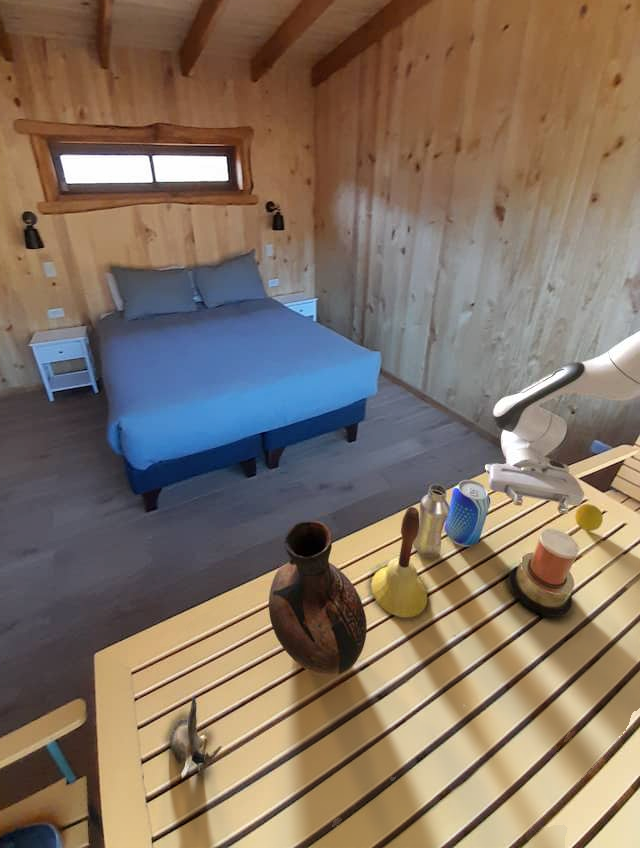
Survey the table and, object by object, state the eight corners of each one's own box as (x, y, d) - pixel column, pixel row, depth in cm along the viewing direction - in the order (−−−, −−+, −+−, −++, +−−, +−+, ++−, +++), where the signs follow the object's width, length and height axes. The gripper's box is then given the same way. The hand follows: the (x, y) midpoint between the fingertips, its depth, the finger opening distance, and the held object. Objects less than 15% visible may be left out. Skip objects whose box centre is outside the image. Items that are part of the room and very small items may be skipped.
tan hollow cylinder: (560, 575, 93) (570, 554, 90) (578, 626, 83) (589, 604, 80) (503, 563, 97) (510, 541, 93) (514, 610, 86) (522, 588, 83)
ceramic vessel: (383, 668, 77) (401, 564, 64) (305, 722, 70) (307, 618, 56) (322, 580, 94) (326, 483, 80) (254, 616, 86) (246, 516, 73)
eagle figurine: (232, 741, 67) (202, 690, 72) (213, 752, 61) (182, 696, 66) (200, 782, 65) (172, 727, 71) (177, 797, 60) (148, 737, 65)
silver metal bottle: (419, 534, 105) (430, 475, 96) (444, 549, 100) (458, 489, 91) (406, 549, 101) (417, 489, 92) (431, 566, 96) (445, 505, 87)
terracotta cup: (560, 561, 89) (572, 532, 84) (570, 588, 83) (584, 559, 79) (526, 554, 90) (537, 525, 86) (533, 580, 85) (545, 551, 81)
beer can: (436, 528, 106) (447, 483, 99) (460, 518, 109) (472, 473, 102) (461, 553, 99) (474, 506, 92) (486, 542, 102) (500, 495, 95)
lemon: (571, 517, 109) (580, 495, 105) (596, 526, 106) (607, 504, 102) (570, 530, 105) (580, 508, 101) (596, 540, 102) (607, 518, 98)
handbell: (389, 556, 99) (401, 479, 88) (437, 590, 91) (457, 510, 80) (360, 590, 91) (369, 510, 80) (409, 629, 83) (427, 547, 72)
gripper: (486, 452, 107) (495, 488, 95) (575, 466, 101) (596, 506, 89) (481, 471, 109) (489, 508, 98) (567, 485, 104) (586, 526, 92)
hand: (541, 507), depth 93 cm, fingers open, 8 cm apart
